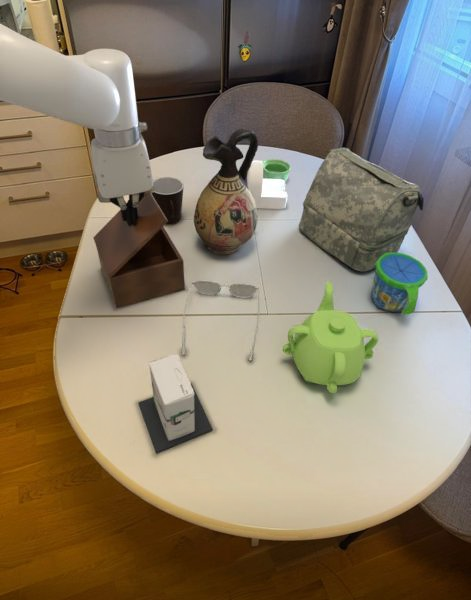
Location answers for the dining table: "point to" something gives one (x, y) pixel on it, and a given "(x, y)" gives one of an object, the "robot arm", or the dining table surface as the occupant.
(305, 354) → the teapot
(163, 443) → the mat
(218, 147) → the ceramic jug
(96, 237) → the lid
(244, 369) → the dining table surface
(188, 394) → the ink box
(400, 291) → the sippy cup
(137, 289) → the chest
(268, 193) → the bracket
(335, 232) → the lunch bag
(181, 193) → the coffee mug
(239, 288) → the eyeglasses
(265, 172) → the ramekin
